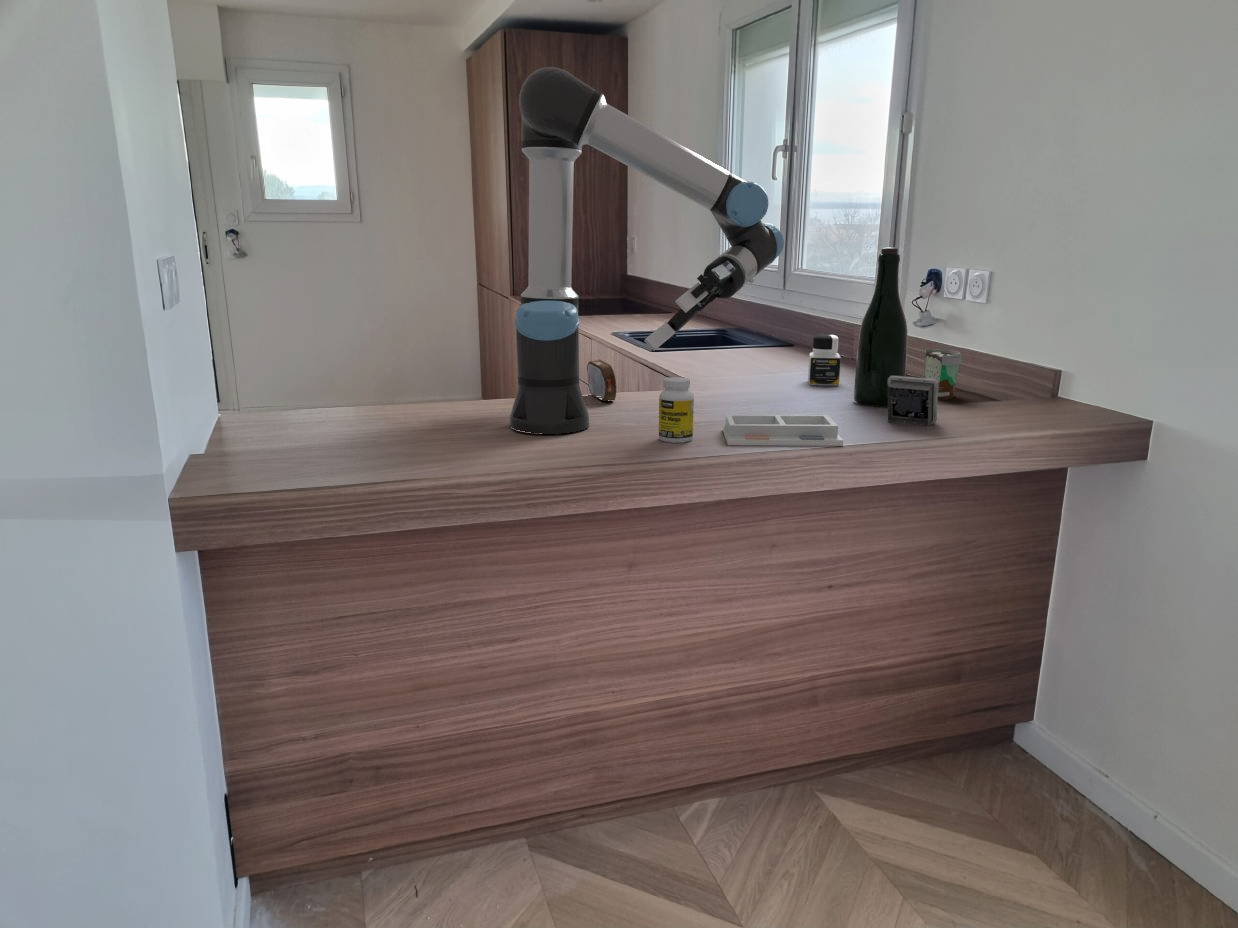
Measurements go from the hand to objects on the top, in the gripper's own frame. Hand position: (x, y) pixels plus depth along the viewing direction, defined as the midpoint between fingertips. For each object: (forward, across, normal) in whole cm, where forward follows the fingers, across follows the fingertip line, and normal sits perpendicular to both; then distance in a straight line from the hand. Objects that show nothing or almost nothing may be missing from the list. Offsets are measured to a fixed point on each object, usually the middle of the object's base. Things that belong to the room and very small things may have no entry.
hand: (664, 326), depth 155 cm
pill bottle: (+11, +6, -16) cm, 21 cm away
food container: (-57, +13, -52) cm, 78 cm away
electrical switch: (-26, -2, -46) cm, 53 cm away
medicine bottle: (-54, +34, -32) cm, 72 cm away
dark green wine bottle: (-40, +13, -41) cm, 59 cm away
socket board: (-2, 0, -29) cm, 29 cm away
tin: (-7, +41, +2) cm, 42 cm away
